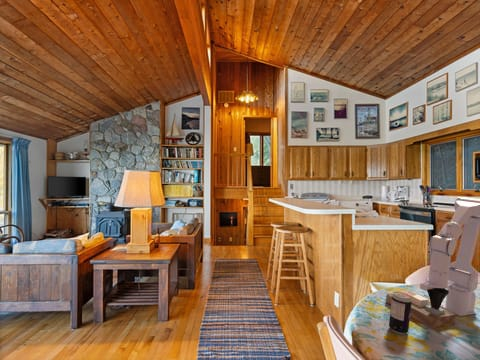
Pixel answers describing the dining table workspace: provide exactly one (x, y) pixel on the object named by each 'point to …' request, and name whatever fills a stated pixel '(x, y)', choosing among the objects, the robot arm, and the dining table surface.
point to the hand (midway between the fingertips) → (434, 308)
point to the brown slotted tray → (428, 315)
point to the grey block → (434, 310)
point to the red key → (407, 293)
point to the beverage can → (400, 312)
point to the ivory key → (419, 300)
